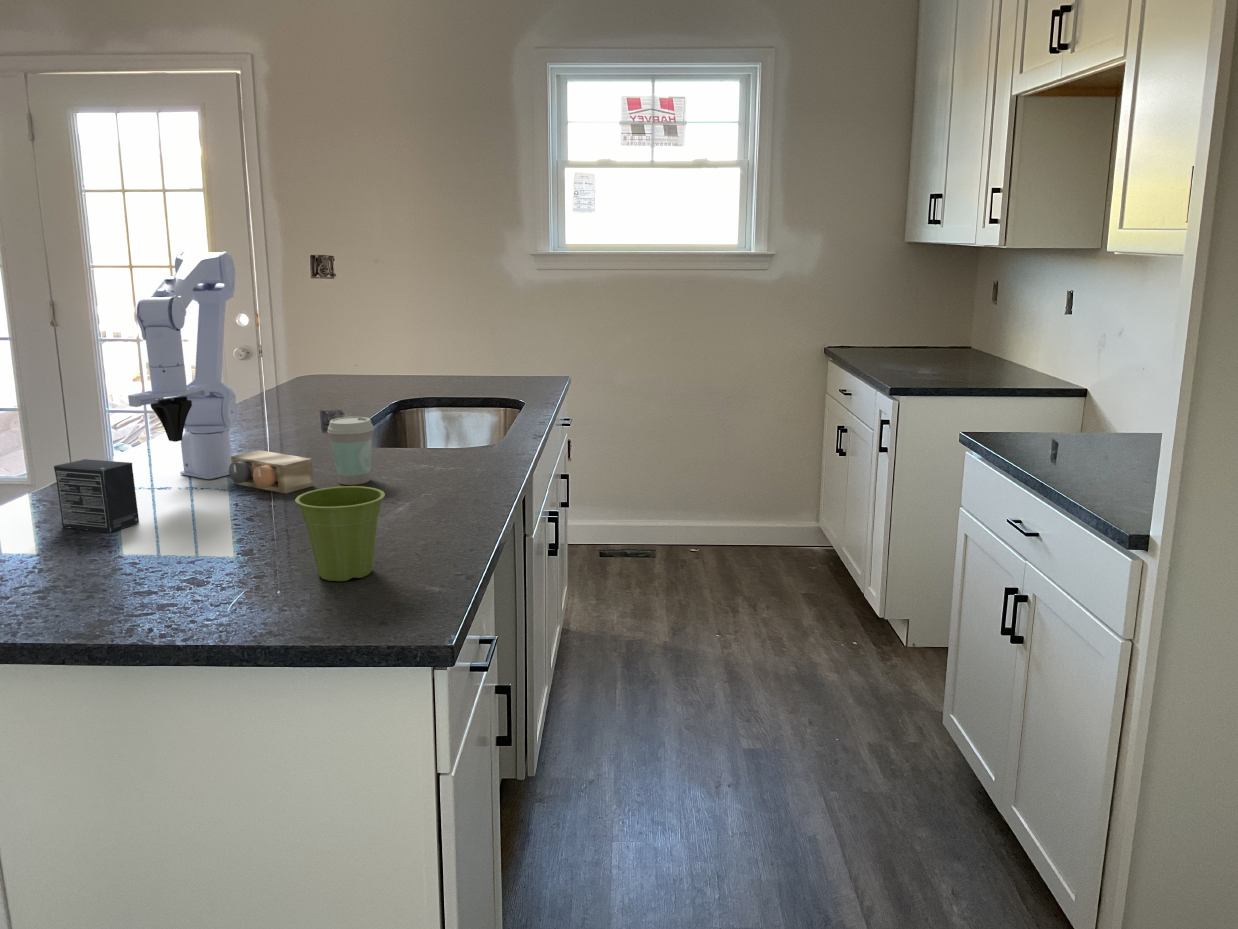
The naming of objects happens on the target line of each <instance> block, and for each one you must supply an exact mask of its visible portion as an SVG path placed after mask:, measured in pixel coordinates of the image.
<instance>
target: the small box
mask: <svg viewBox="0 0 1238 929" xmlns="http://www.w3.org/2000/svg"><path fill="white" fill-rule="evenodd" d="M53 469H54V475H55V479H56V485H57V488H56V489H57V492H58V493H57V494H58V502H59V509H60V515H61V516H60V517H61V518H60V519H61V526H63V527H71V528H79V529H78V530H81V529H88V530H87V531H90V530H95V531H94V532H99V531H103V532H102V533H108V532H110V533H113V532H116V531H118V530H122V529H124V527H125V528H128V527H130V525H131V526H134V525H136V524H139V523H140V519H139V510H138V504H137V502H138V501H137V494H136V488H135V486H136V485H135V479H134V477H135V476H134V470H133V462H128V461H127V462H126V461H125V462H124V461H114V460H113V461H112V460H111V461H110V460H101V459H100V460H99V459H87V458H86V459H81V460H74V461H71V462H67V463H62V464H56V465H54V466H53ZM127 526H128V527H127ZM63 527H62V528H63ZM71 528H70V529H71ZM121 528H122V529H121Z"/></svg>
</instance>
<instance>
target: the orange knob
mask: <svg viewBox="0 0 1238 929" xmlns="http://www.w3.org/2000/svg"><path fill="white" fill-rule="evenodd" d="M253 478H254V481H255V483H256V485H257V486H258V487H260V488H265V487H269V486H272V485H274V483H275V482H276V481H278V480H277V469H276V467H274V466H273V467H270V466H269V465H264V466H260V467H256V468H255V469H254V472H253ZM260 488H259V489H260Z"/></svg>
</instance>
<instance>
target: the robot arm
mask: <svg viewBox="0 0 1238 929" xmlns="http://www.w3.org/2000/svg"><path fill="white" fill-rule="evenodd" d="M174 271H175V273H174V276H166V277H165V278H164V280H163V281H162V282H161V283H160V284H159V286H158V287H157V288H156V290H155V291H154V292H153V293H152V295H151V296H145V297H143V298H142V299H141V300H139V301H138V302H137V304H136V305H137V306H136V314H135V315H136V321H137V323H138V325H139V328H140V332H141V337H142V339H143V341H145V344H146V352H147V362H148V368H149V377H150V378H149V379H150V386H151V390H148V391H143V392H139V393H133V394H128V396H127V398H128V406H129V407H134V408H138V407H142V406H146V405H149V406H150V408H151V409H152V411H153V412H154V414H155V415H156V416H157V417H158V419H159V422H161V424H162V427H163V429H164V431H165V433H166V437H167V439H168V441H170V442H175V443H177V442H180V446H181V447H180V448H181V455H182V456H181V457H182V464H183V470H182V471H180V475H185V476H189V477H194V478H200V479H204V480H213V479H217V478H222V477H226V476H230V475H229V466H230V464H231V456H233V454H232V442H231V435H230V433H231V432H230V429H232V428H233V427H234V426H235V424H236V423H237V420H238V407H237V403H236V402H237V401H236V399H237V397H236V394H235V392H234V390H233V389H232V388H231V387H230V386H229V385H227V384H226V383H224V382H223V381H222V378H223V375H222V373H223V358H224V338H225V337H224V335H225V318H226V317H225V315H226V306H227V302H228V301H229V300H230V299H232V298H234V294H235V288H236V286H235V284H236V267H235V264H234V259H233V257H232V255H231V254H230V253H229V252H227V251H222V252H221V251H220V252H185V251H180V252H178V254H177V256H176V257H175V260H174ZM192 301H195V302H197V305H198V319H197V332H196V333H197V336H196V352H195V353H196V355H195V372H194V373H195V374H194V379H193V380H192V381H191V382H190V383H188V384H187V375H186V367H185V361H184V360H185V358H184V351H183V341H182V333H181V330H182V329H183V328H184V326H185V321H186V315H187V308H188V307H189V305H190V304H191V303H192ZM184 429H185V430H186V431H185V432H184Z"/></svg>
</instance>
